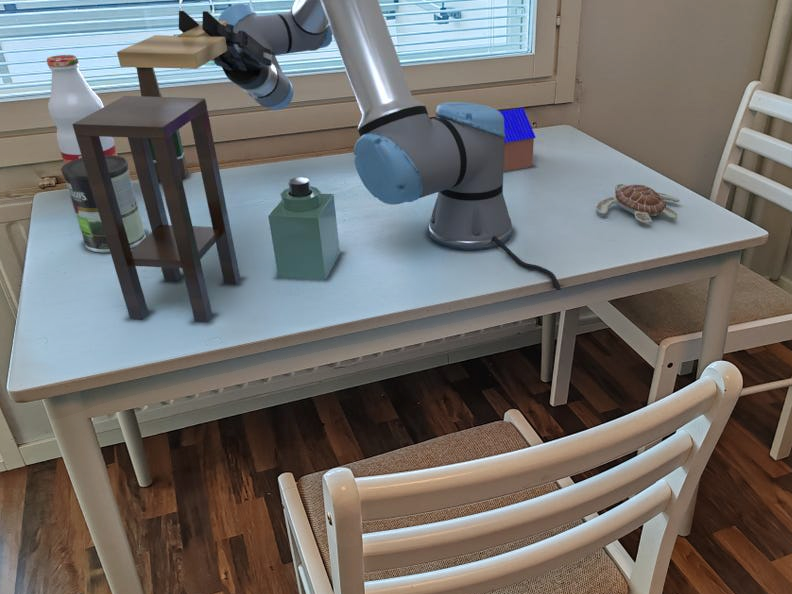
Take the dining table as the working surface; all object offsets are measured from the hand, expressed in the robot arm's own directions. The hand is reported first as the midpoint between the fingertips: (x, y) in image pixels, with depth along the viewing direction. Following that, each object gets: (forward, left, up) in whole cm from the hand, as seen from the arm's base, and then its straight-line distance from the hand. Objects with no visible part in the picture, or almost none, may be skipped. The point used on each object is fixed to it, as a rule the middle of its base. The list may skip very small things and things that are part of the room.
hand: (193, 20), depth 113 cm
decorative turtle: (-53, -56, -37) cm, 86 cm away
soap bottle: (-18, -1, -37) cm, 41 cm away
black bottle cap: (-18, -1, -24) cm, 30 cm away
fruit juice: (+34, +4, -37) cm, 50 cm away
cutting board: (-1, +2, -4) cm, 5 cm away
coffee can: (+17, +12, -37) cm, 43 cm away
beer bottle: (+37, -14, -37) cm, 54 cm away
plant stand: (-11, +18, -37) cm, 42 cm away
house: (-14, -60, -37) cm, 72 cm away
